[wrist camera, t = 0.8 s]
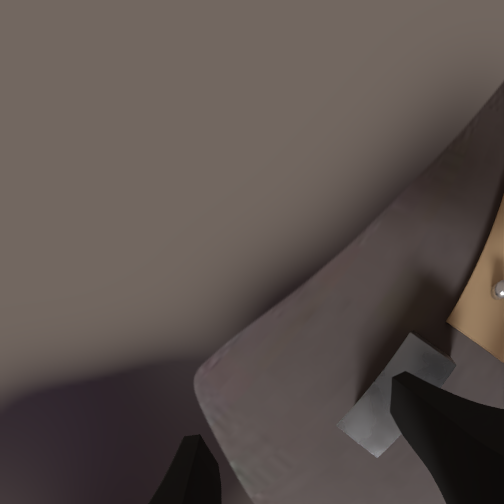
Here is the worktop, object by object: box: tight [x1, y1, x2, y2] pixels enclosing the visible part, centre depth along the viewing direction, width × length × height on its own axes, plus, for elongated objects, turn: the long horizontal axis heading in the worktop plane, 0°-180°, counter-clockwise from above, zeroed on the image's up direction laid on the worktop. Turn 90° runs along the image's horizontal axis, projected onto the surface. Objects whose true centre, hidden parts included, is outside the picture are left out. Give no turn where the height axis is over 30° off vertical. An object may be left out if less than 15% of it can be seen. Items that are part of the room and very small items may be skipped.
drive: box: [336, 331, 456, 458], centre depth 17 cm, size 4×8×5 cm, turn 143°
